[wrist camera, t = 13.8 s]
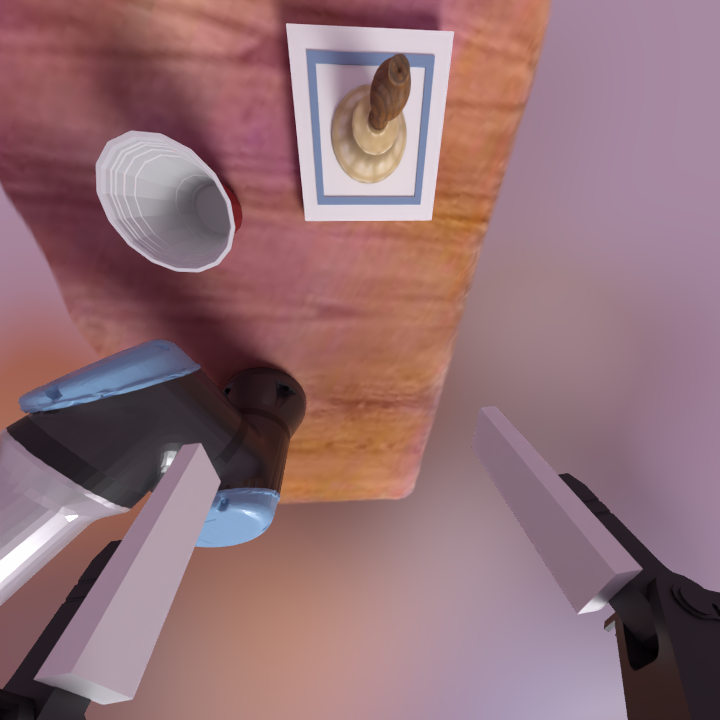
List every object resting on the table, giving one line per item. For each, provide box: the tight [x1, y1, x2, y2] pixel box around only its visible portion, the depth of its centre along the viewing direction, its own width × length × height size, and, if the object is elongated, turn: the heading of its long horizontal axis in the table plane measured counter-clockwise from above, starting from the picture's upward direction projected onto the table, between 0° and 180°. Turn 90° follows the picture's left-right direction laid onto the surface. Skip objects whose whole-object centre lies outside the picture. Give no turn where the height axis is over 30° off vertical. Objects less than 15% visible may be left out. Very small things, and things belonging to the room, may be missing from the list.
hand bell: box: [331, 54, 411, 184], centre depth 21 cm, size 8×8×16 cm
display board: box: [286, 23, 454, 221], centre depth 29 cm, size 16×16×3 cm
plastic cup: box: [96, 131, 242, 272], centre depth 27 cm, size 11×11×12 cm
